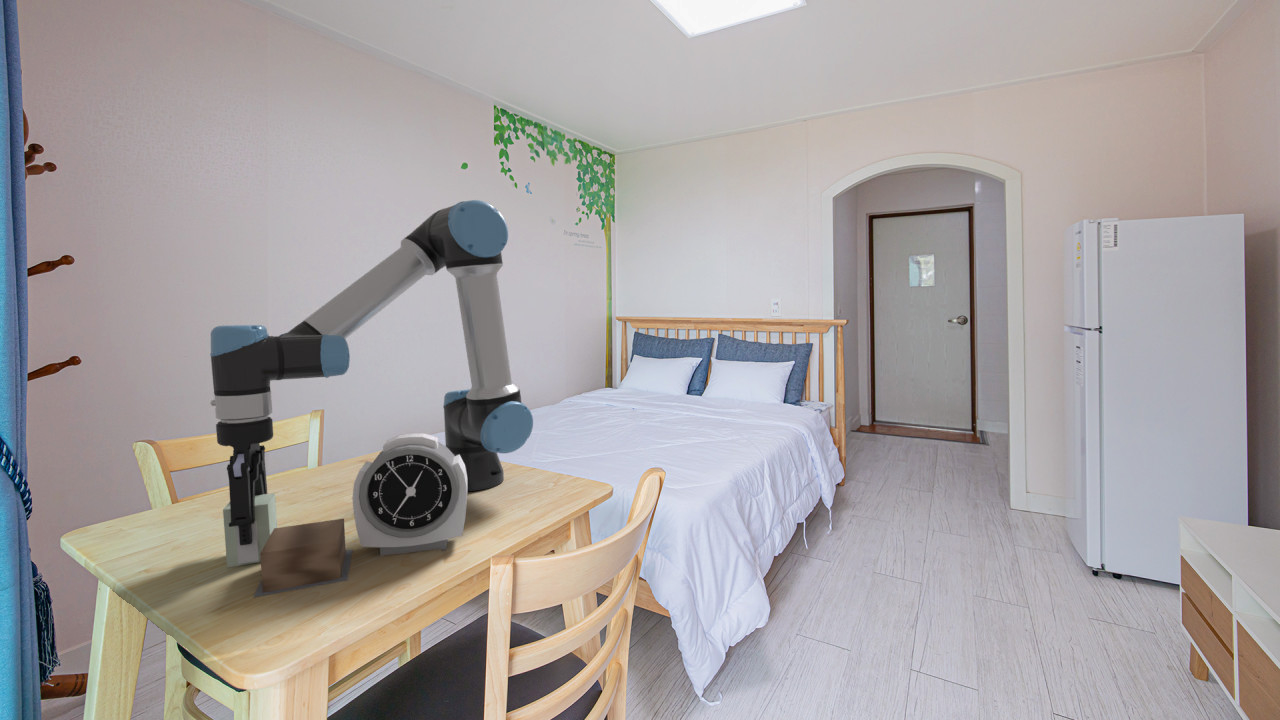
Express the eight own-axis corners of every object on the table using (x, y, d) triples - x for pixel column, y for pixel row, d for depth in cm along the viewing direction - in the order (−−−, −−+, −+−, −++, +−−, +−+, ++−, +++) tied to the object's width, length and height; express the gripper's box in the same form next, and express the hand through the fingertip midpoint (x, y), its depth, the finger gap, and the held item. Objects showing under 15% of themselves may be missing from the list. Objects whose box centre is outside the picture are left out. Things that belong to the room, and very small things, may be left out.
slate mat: (352, 551, 93) (352, 548, 93) (347, 582, 82) (347, 579, 82) (270, 564, 88) (270, 562, 88) (253, 600, 77) (252, 597, 77)
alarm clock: (353, 565, 88) (347, 444, 86) (364, 543, 96) (359, 433, 94) (468, 551, 93) (464, 436, 91) (469, 532, 101) (466, 426, 99)
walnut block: (345, 552, 92) (343, 518, 91) (340, 578, 83) (338, 540, 82) (276, 563, 87) (274, 528, 87) (262, 592, 78) (260, 553, 78)
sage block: (278, 548, 94) (275, 493, 93) (271, 562, 89) (267, 504, 88) (237, 554, 92) (233, 498, 91) (227, 569, 86) (223, 509, 85)
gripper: (232, 410, 95) (241, 536, 97) (197, 432, 78) (208, 583, 80) (282, 407, 98) (289, 529, 100) (258, 427, 81) (268, 573, 83)
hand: (253, 553), depth 90 cm, fingers closed on sage block, 6 cm apart
